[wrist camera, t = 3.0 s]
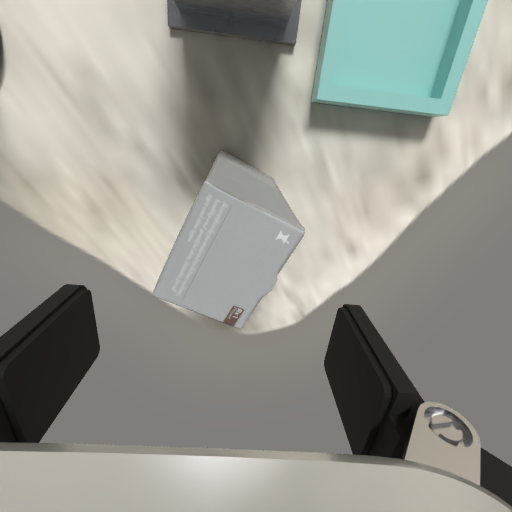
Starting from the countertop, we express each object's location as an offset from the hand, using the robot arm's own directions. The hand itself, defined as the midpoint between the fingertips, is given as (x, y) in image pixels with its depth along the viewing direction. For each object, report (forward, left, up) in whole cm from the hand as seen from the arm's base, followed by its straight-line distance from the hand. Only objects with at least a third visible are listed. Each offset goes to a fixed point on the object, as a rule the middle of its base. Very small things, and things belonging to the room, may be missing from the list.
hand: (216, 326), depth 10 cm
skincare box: (0, 0, -22) cm, 22 cm away
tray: (+13, +17, -21) cm, 30 cm away
